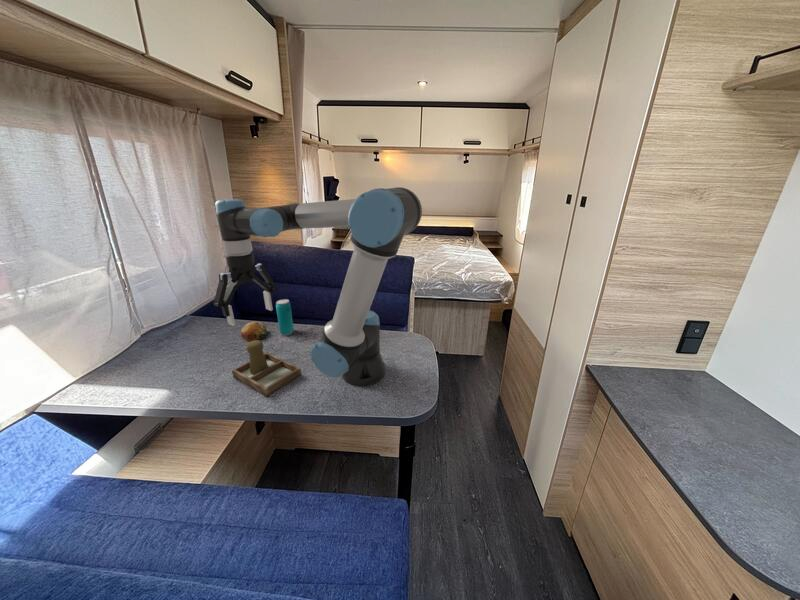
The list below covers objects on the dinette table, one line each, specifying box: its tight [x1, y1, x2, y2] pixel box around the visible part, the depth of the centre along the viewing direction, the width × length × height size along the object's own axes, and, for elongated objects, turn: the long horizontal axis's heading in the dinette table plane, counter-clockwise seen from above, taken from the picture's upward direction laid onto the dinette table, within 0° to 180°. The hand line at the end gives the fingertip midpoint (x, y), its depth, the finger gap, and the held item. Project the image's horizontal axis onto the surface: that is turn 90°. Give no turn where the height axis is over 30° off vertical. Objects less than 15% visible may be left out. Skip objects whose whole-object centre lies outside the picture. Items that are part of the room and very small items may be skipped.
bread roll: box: [240, 321, 268, 342], centre depth 133 cm, size 10×10×8 cm
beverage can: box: [275, 298, 294, 337], centre depth 133 cm, size 6×6×15 cm
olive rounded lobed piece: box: [246, 339, 268, 375], centre depth 107 cm, size 6×6×11 cm
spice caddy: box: [231, 351, 302, 398], centre depth 107 cm, size 18×14×3 cm
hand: (251, 316), depth 103 cm, fingers open, 13 cm apart
